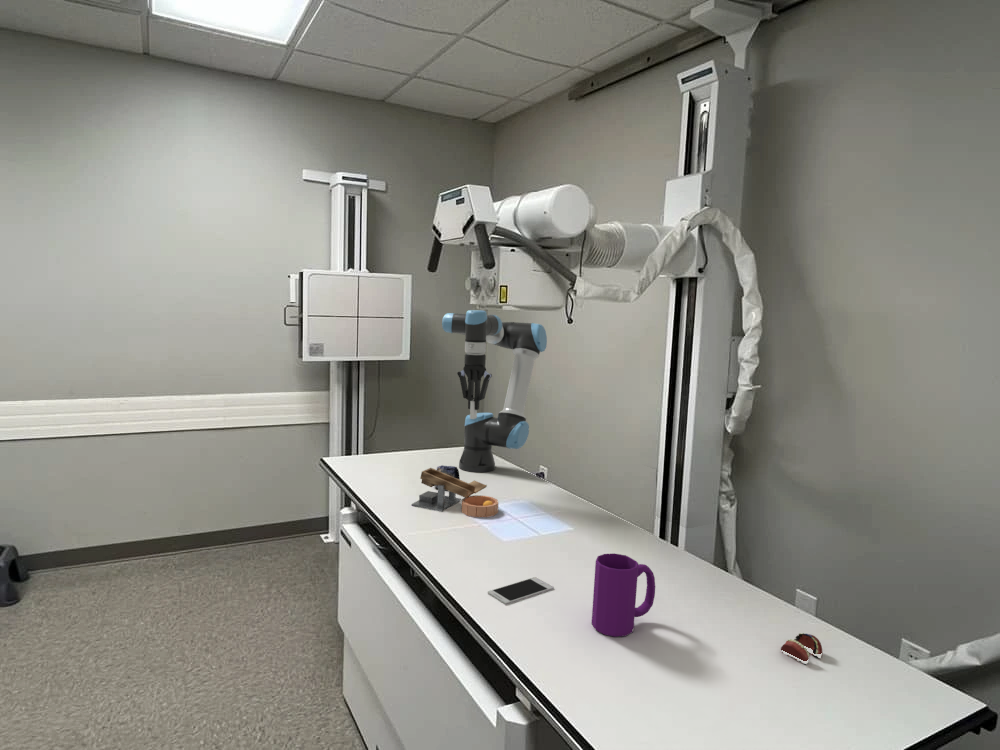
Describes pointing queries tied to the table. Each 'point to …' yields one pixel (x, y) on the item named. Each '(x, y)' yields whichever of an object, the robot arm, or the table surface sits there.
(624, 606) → the mug
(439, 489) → the pivot base
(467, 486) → the lever
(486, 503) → the ball
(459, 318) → the robot arm
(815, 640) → the dentures
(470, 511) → the terracotta bowl
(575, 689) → the table surface
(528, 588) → the smartphone
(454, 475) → the rock
